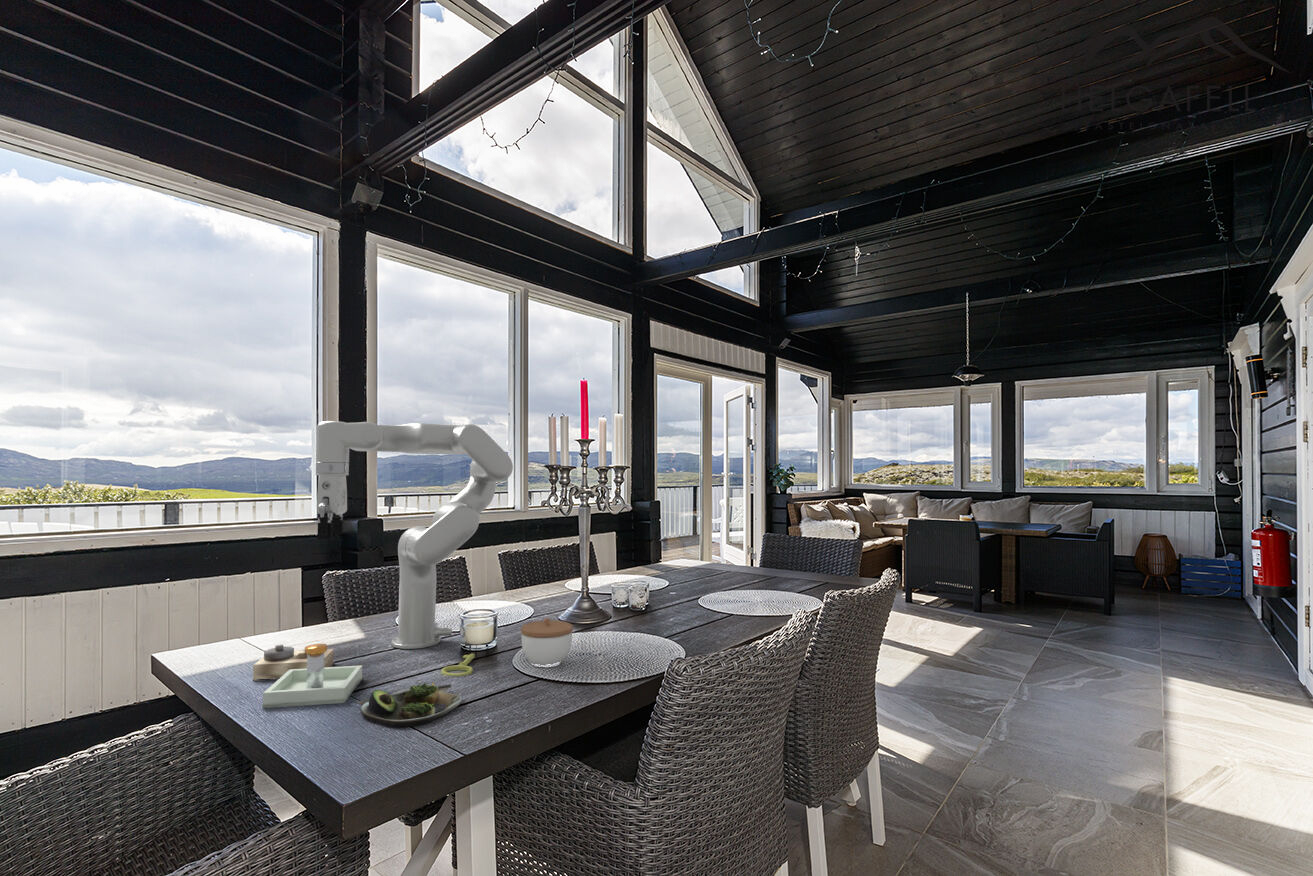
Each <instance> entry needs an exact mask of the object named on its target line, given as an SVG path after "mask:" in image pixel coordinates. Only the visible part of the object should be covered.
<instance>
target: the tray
mask: <svg viewBox="0 0 1313 876" xmlns="http://www.w3.org/2000/svg"><path fill="white" fill-rule="evenodd" d="M362 680H363V665H349V666H348V665H347V666H330V667H326V668H324V685H323V688H309V689H306V683H307V669H290V670H289V671H287V672H286V673H285V674H284V675H283V676H282V677H281V678H280V679H276V681H275V682H274V683H273V684H271V685H270V686H269V687H268V688H267V689H266V690H265V691H264V692H262V709H271V708H287V707H288V708H291V707H302V706H303V707H304V706H318V705H330V704H344V703H345V702H346V701H347V700H348V699H349V697H350V696H351V695H352V693H353V692H354V690H355V689H356V688H357V686H358V685H359V684H360V683H361V681H362Z"/></svg>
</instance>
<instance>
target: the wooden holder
mask: <svg viewBox="0 0 1313 876" xmlns="http://www.w3.org/2000/svg"><path fill="white" fill-rule="evenodd" d="M334 653H335V648H327V651H326V652H324V668H326V667H332V666H333V664H334V659H335V658H334V657H335V656H334ZM290 669H307V654H305V649H304V650H295V648H294V647H292V646H284V644H277V645H275V646H274V647H273V648H269V649H267V650H264V652H263V657H262V658H261V659H259V660H258V661H256V662H255V663H254V664H253V669H252V671H253V672H252V681H253V680H254V681H258V680H257V679H271V680H277V679H276V678H281V677H282V676H283V675H284V674H285V673H286V672H287V671H289V670H290ZM273 678H275V679H273Z"/></svg>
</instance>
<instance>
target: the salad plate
mask: <svg viewBox="0 0 1313 876" xmlns="http://www.w3.org/2000/svg"><path fill="white" fill-rule="evenodd" d="M435 685H436V683H435V682H432V683H431V685H428V684H427V683H423V684H422V685H421V684H418V685H411V686H410V688H409V687H408V688H404V689H401V690H399V691H396V692H394V693H391V694H390V693H389V692H387V691H384V690H381V689H375V690H373V691H372V693H371V694H370V697H369V698H366V699H362V700H360V701H358V702H357V703H356V704H358V705H361V709H360V713H361V715H362V717H364V719H365V720H367V721H368V722H371V723H374V724H377V725H379V726H384V727H389V728H410V727H416V726H417V727H418V726H421V725H423V724H426V723H427V724H428V723H429V722H430V723H431V722H432V721H434V720H436V719H438V718H441V717H442V716H444V715H446V714H448V713H449V712H451V711H452V710H454V709H456V708H457V707H458V706H460V704H461V703H462V701H463V700H462V698H463V697H462V696H461V695H460V694H457V693H451V692H447V690H448V689H451V688H452V684H450V683H449V684H441V685H436V686H435ZM437 704H441V705H445V707H444V710H442V711H440V712H439V711H438V712H436V708H435V705H437Z"/></svg>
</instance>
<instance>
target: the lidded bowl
mask: <svg viewBox="0 0 1313 876" xmlns="http://www.w3.org/2000/svg"><path fill="white" fill-rule="evenodd" d="M520 634H521V635H520V636H521V639H520V640H521V649H522V651H523V655H524V656H525V659H526V660H528V661H529V663H531V664H532V663H533V664H540V665H546V664H553V663H557V662H560V661H562V660H563V661H564V660H565V659H566V658H567V656H568V654H569V652H570V650H571V646H572V640H573V624H572V623H571V622H568V621H563V620H554V619H552V620H551V619H550V617H544V620H536V621H531V622H530V621H529V622H528V623H525V624H523V625H522V626H521V627H520ZM563 661H562V662H563Z"/></svg>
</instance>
